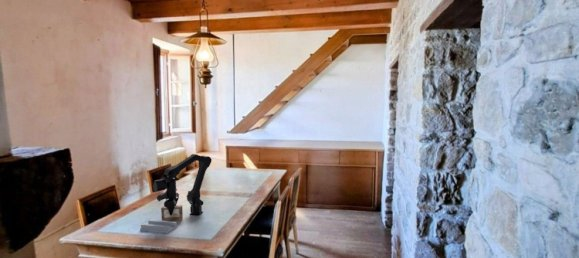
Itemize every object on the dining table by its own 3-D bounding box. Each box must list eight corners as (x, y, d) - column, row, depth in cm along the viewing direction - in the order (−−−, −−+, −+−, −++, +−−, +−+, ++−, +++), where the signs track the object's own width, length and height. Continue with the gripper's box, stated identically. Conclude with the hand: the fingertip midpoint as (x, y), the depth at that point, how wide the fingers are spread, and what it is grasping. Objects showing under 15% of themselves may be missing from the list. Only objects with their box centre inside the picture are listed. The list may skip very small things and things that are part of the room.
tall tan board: (182, 219, 201) (182, 205, 200) (182, 220, 198) (181, 206, 197) (162, 220, 198) (162, 206, 198) (161, 222, 195) (161, 208, 195)
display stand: (177, 226, 188) (177, 221, 188) (167, 233, 178) (167, 228, 178) (151, 224, 192) (151, 218, 192) (140, 230, 183) (139, 225, 182)
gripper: (160, 185, 204) (161, 208, 205) (154, 193, 186) (155, 219, 187) (178, 184, 206) (179, 207, 207) (174, 192, 188) (175, 217, 189)
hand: (172, 212), depth 198 cm, fingers open, 9 cm apart
